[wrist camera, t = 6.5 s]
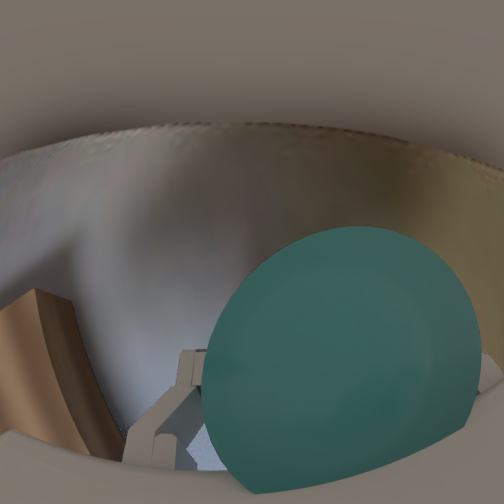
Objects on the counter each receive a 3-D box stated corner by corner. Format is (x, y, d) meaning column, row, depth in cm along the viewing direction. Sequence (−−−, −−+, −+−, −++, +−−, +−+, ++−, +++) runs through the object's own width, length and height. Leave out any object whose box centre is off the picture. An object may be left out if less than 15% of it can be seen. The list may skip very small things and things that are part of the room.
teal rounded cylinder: (313, 288, 16) (405, 187, 5) (358, 374, 14) (501, 397, 4) (220, 334, 15) (146, 311, 4) (267, 423, 13) (290, 549, 3)
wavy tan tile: (71, 300, 15) (34, 287, 12) (154, 488, 11) (131, 516, 7) (-25, 356, 13) (-53, 351, 9) (27, 490, 9) (3, 500, 5)
